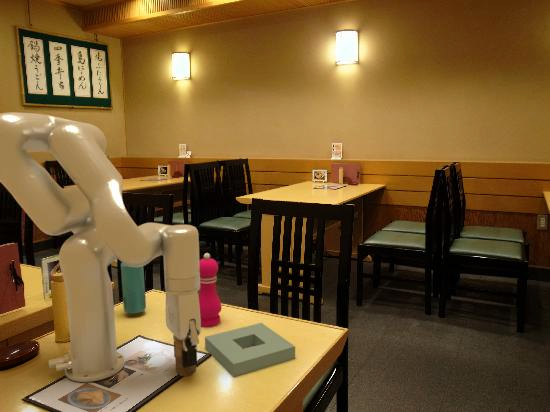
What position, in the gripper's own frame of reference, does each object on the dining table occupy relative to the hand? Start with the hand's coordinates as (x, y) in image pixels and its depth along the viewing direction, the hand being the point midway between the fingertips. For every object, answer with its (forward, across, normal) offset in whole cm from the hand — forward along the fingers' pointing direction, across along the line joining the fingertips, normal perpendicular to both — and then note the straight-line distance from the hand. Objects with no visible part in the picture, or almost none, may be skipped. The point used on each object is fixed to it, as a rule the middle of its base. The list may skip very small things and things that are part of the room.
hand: (185, 360), depth 104 cm
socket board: (+3, 0, +16) cm, 16 cm away
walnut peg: (+3, 0, 0) cm, 3 cm away
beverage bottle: (+3, -39, -1) cm, 39 cm away
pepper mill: (+3, -22, +15) cm, 27 cm away
